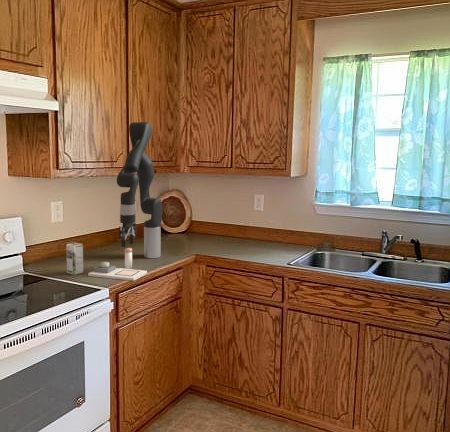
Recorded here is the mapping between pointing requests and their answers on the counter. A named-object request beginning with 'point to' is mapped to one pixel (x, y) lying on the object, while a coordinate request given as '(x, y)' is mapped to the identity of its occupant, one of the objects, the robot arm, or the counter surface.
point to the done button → (104, 264)
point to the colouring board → (117, 273)
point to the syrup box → (74, 258)
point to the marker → (128, 258)
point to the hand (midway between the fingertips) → (127, 245)
